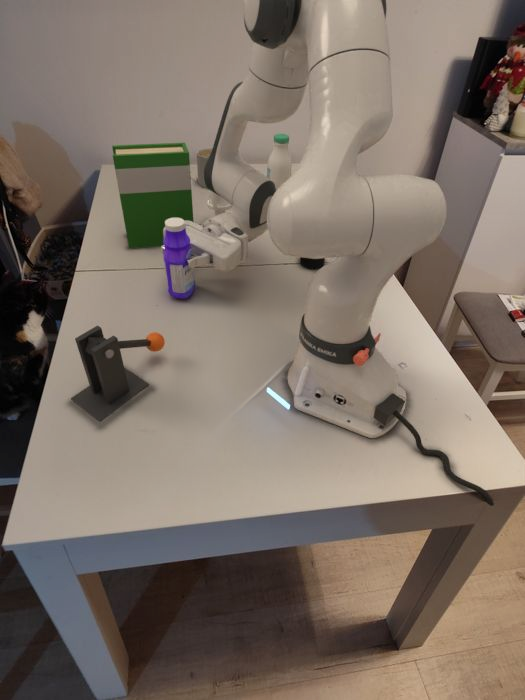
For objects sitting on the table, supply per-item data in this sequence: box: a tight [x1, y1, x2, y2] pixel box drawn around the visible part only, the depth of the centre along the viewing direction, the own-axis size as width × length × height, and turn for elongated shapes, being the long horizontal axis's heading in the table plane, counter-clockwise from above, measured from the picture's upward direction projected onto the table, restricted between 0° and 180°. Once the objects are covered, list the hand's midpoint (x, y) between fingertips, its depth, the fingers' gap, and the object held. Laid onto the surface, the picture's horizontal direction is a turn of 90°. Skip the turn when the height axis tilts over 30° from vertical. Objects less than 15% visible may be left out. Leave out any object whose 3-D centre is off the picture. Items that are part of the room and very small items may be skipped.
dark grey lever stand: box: [70, 325, 150, 423], centre depth 76 cm, size 11×8×14 cm
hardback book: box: [111, 142, 195, 250], centre depth 115 cm, size 18×7×24 cm, turn 105°
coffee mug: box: [196, 147, 213, 189], centre depth 150 cm, size 13×10×10 cm
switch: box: [86, 332, 166, 356], centre depth 78 cm, size 16×4×4 cm, turn 143°
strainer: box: [206, 190, 232, 216], centre depth 127 cm, size 7×7×15 cm
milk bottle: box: [266, 133, 293, 191], centre depth 139 cm, size 8×8×20 cm
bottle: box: [163, 218, 196, 299], centre depth 97 cm, size 7×6×17 cm
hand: (175, 257), depth 96 cm, fingers closed on bottle, 6 cm apart
